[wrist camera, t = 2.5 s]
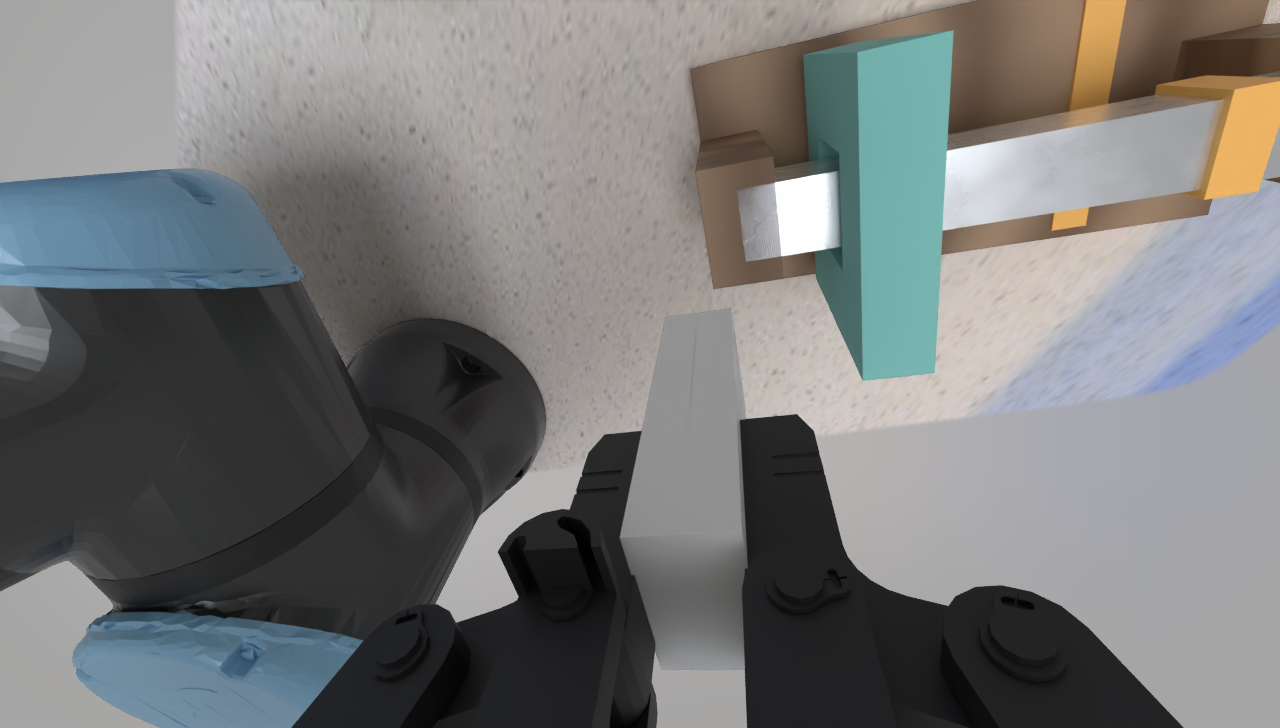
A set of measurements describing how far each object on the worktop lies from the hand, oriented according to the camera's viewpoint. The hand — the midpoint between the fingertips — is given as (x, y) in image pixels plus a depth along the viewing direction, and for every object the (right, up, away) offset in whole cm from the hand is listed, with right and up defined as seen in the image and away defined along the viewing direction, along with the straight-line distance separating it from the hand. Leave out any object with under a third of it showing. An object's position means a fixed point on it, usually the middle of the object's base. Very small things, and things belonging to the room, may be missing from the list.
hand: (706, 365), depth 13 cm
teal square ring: (+8, +10, +14) cm, 19 cm away
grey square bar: (+14, +8, +10) cm, 19 cm away
